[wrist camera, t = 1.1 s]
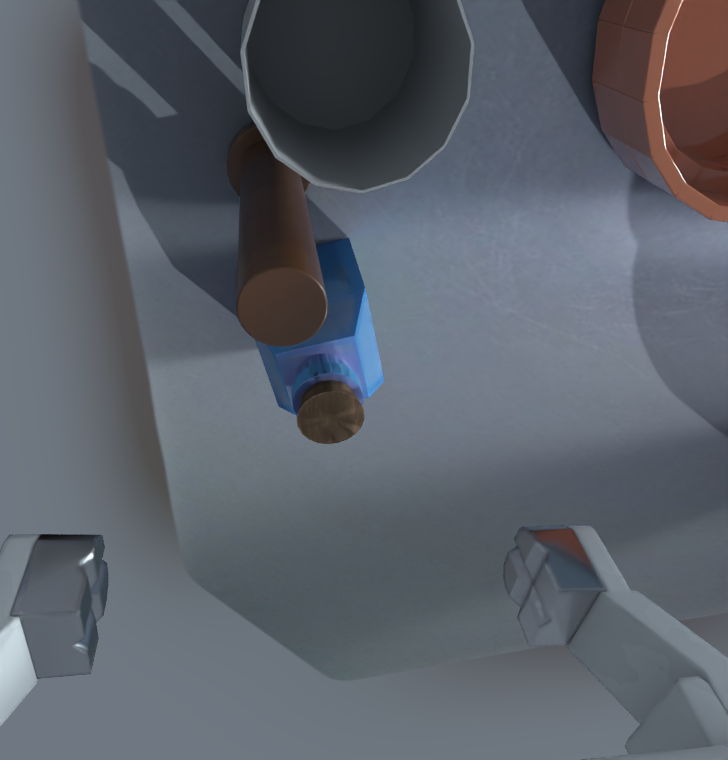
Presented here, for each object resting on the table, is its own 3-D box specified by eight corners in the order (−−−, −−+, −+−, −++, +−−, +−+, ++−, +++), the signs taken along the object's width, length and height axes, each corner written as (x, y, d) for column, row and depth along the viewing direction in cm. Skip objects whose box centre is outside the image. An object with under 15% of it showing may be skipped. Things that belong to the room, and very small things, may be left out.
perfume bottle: (367, 325, 40) (404, 449, 30) (274, 347, 40) (283, 479, 30) (348, 238, 36) (385, 349, 26) (246, 262, 36) (246, 382, 26)
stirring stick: (210, 163, 32) (185, 313, 19) (266, 100, 31) (278, 217, 18) (272, 218, 34) (286, 385, 22) (327, 162, 33) (376, 304, 20)
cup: (434, -41, 28) (507, -31, 20) (393, 140, 33) (439, 205, 25) (251, -89, 26) (252, -99, 18) (235, 111, 31) (230, 172, 23)
